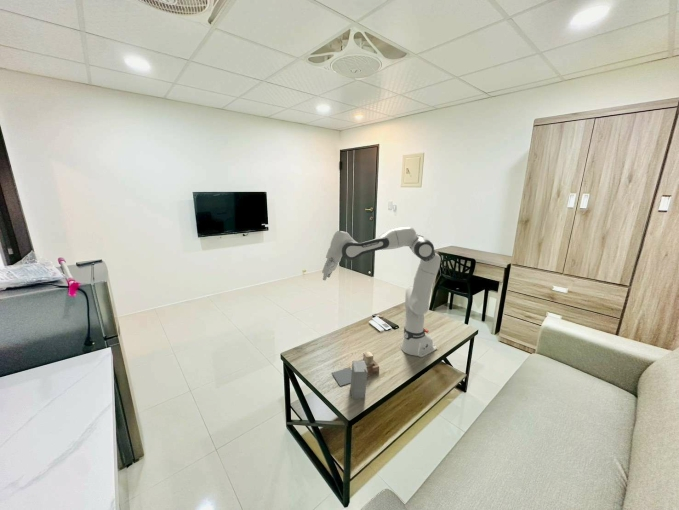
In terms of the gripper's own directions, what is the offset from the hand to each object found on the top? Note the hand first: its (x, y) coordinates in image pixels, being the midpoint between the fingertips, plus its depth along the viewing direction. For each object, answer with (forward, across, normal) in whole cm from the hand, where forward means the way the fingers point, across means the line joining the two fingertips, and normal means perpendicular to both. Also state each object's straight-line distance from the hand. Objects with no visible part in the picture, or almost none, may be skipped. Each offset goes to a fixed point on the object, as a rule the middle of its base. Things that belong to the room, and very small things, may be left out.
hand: (326, 278), depth 161 cm
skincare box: (+41, -28, -40) cm, 63 cm away
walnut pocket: (+37, -10, -41) cm, 57 cm away
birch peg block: (+37, -10, -41) cm, 57 cm away
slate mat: (+42, -18, -31) cm, 55 cm away
